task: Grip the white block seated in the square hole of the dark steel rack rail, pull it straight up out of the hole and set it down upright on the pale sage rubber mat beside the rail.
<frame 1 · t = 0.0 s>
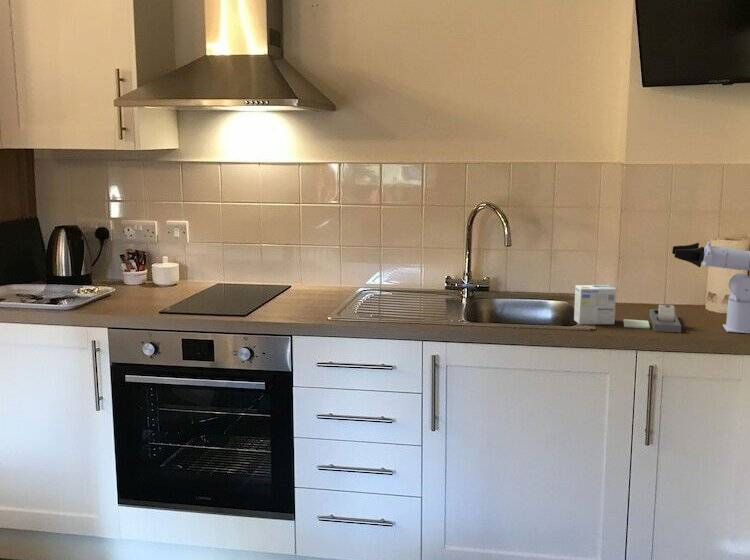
hand: (673, 251, 228), 22 cm above the worktop, tool horizontal, fingers open, 7 cm apart
white block: (665, 326, 231), resting in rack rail
light bulb box: (593, 322, 236), on the worktop
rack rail: (664, 324, 234), on the worktop
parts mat: (636, 324, 233), on the worktop
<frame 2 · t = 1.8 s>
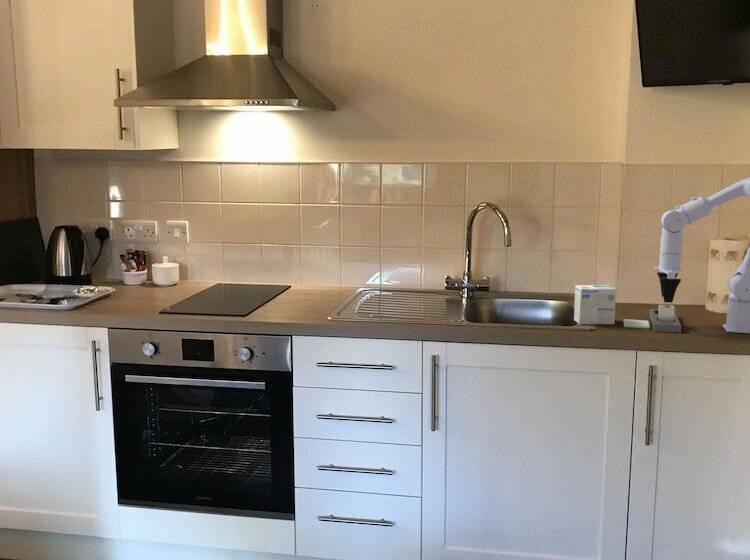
hand: (667, 299, 230), 8 cm above the worktop, tool pointing down, fingers open, 7 cm apart
nothing on the worktop moved.
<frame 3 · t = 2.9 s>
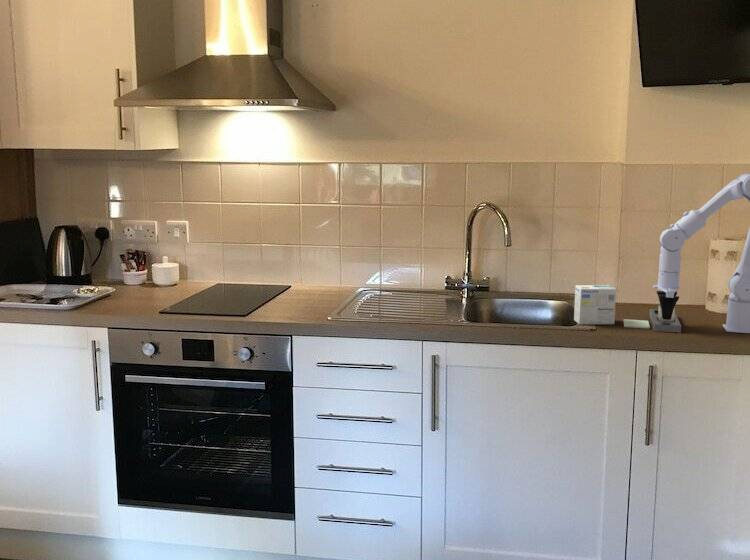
hand: (665, 317, 231), 3 cm above the worktop, tool pointing down, fingers closed on white block, 4 cm apart
white block: (665, 326, 231), resting in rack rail, touching gripper
everything else where it was.
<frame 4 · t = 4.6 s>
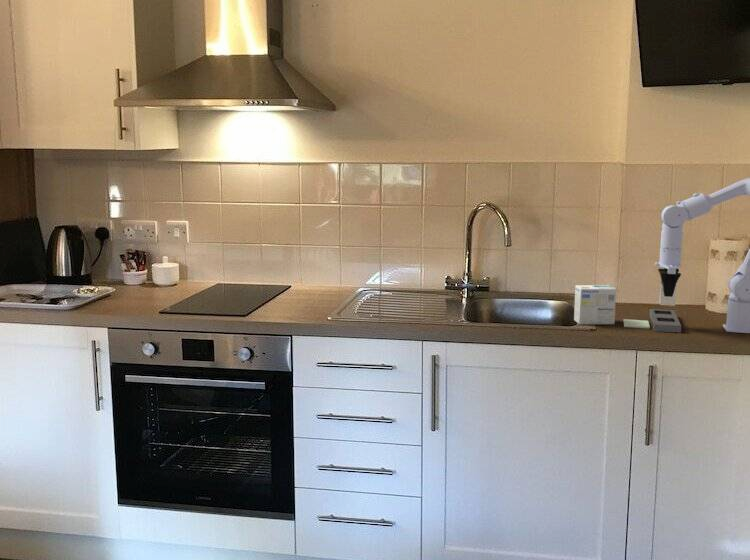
hand: (667, 294, 230), 9 cm above the worktop, tool pointing down, fingers closed on white block, 4 cm apart
white block: (666, 303, 230), point 7 cm above the worktop, touching gripper
everything else where it was.
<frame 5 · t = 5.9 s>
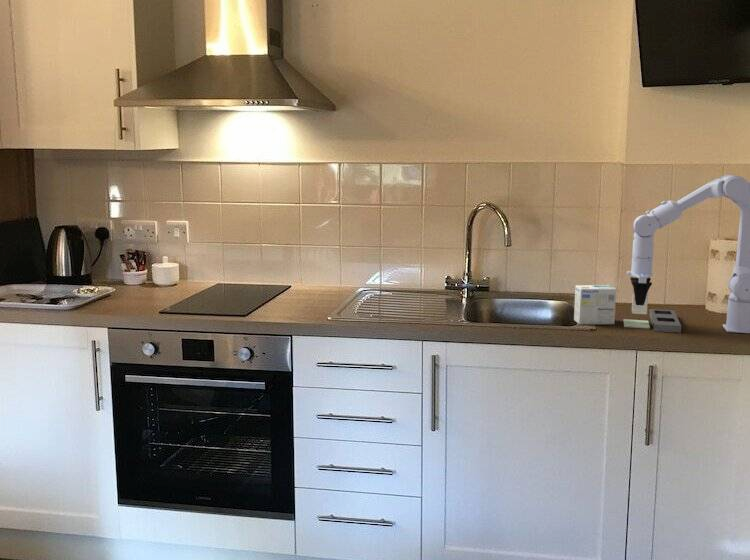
hand: (639, 303, 232), 6 cm above the worktop, tool pointing down, fingers closed on white block, 4 cm apart
white block: (639, 312, 232), point 4 cm above the worktop, touching gripper
everything else where it was.
when the fingers open (4 cm above the worktop, at t = 6.7 s): white block stays where it is, resting on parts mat.
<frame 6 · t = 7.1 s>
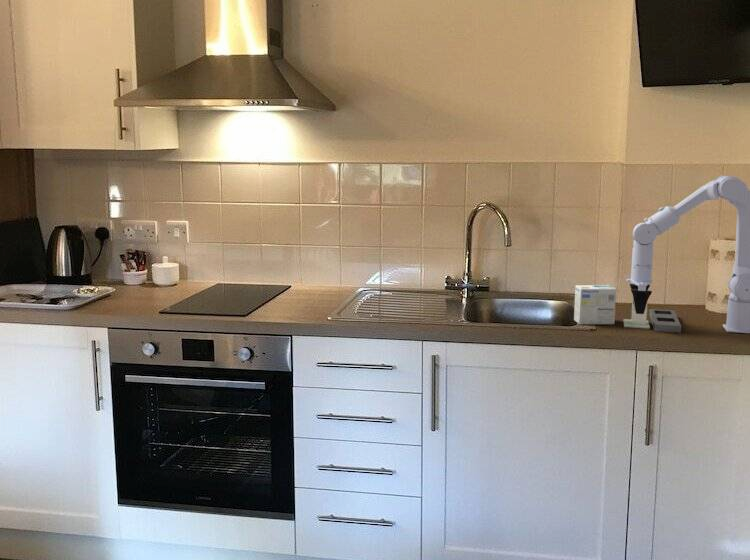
hand: (639, 310, 232), 4 cm above the worktop, tool pointing down, fingers open, 7 cm apart
white block: (638, 323, 233), resting on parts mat
everything else where it was.
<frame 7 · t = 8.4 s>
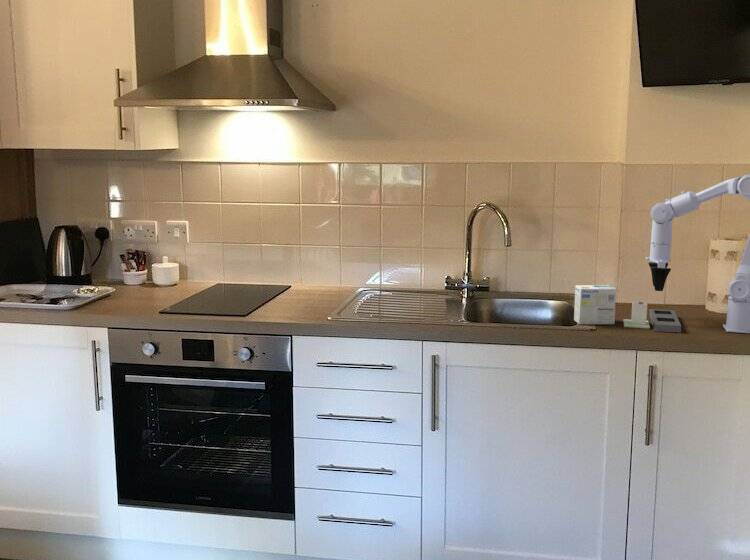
hand: (657, 288, 239), 9 cm above the worktop, tool pointing down, fingers open, 7 cm apart
nothing on the worktop moved.
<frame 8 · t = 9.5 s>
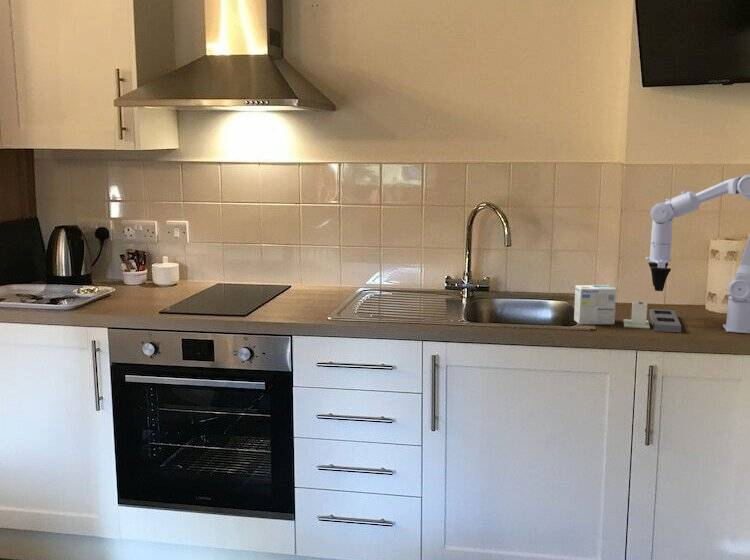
hand: (657, 288, 239), 9 cm above the worktop, tool pointing down, fingers open, 7 cm apart
nothing on the worktop moved.
at the end: white block 0.6 cm off-centre on the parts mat, point 0.5 cm above the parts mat's base; white block tilted 0°; the gripper is holding nothing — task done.
